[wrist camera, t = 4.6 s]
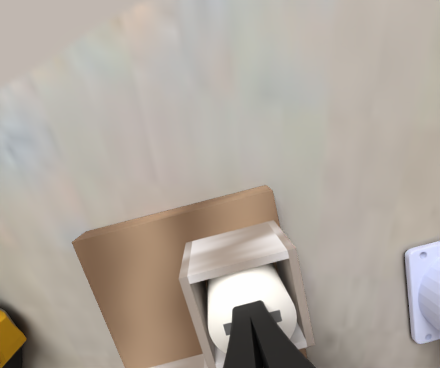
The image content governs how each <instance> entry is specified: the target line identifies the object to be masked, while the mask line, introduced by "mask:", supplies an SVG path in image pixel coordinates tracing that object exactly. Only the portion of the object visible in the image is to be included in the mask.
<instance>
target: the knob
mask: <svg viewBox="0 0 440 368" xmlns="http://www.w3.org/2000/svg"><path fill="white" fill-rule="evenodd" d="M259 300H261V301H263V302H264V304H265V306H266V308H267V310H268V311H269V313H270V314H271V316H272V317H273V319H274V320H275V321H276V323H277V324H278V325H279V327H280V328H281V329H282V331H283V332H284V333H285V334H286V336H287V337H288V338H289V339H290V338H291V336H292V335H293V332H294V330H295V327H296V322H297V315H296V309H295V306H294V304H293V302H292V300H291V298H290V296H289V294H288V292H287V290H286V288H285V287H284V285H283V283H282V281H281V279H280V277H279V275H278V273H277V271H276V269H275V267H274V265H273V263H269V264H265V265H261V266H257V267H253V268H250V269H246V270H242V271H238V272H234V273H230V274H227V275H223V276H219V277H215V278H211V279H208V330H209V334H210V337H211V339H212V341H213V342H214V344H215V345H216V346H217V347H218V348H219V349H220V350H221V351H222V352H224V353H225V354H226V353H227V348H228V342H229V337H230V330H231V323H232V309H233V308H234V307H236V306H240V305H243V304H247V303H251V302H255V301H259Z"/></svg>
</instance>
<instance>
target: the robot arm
mask: <svg viewBox="0 0 440 368" xmlns="http://www.w3.org/2000/svg"><path fill="white" fill-rule="evenodd" d="M405 264H406V276H407V288H408V300H409V312H410V323H411V335H412V339H413V340H414V341H415V342H416V343H418V344H423V343H427V342H431V341H434V340H438V339H440V241H437V242H433V243H430V244H426V245H422V246H418V247H414V248H411V249H409V250H407V251H406V253H405ZM263 367H264V368H316V367H315V366H314V365H313V364H312V363H311V362H310V361H309V360H308V359H307V358H306V357H305V356H304V355H303V354H302V353H301V352H300V351H299V349H298V348H297V347H296V346H295V345H294V344H293V343H292V342H291V340H290V339H289V338H288V337H287V336H286V334H285V333H284V332H283V331H282V329H281V328H280V327H279V325H278V324H277V323H276V321H275V320H274V319H273V317H272V316H271V314H270V313H269V311H268V310H267V308H266V306H265V304H264V302H263V301H261V300H259V301H255V302H251V303H247V304H243V305H240V306H236V307H234V308H233V309H232V323H231V330H230V337H229V342H228V348H227V353H226V357H225V361H224V365H223V368H263Z"/></svg>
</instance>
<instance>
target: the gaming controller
mask: <svg viewBox="0 0 440 368" xmlns="http://www.w3.org/2000/svg"><path fill="white" fill-rule="evenodd" d="M26 340H27V339H26V337H25V336H24V334H23V333H22V332H21V331H20V330H19V329H18V328H17V327H16V325H15V324H14V322H13V321H12V319H11V318H10V317H9V315H8V314H7V313H6V311H5V310H3V309H1V308H0V368H22V345H23V343H24V342H25V341H26Z"/></svg>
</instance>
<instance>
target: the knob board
mask: <svg viewBox="0 0 440 368" xmlns="http://www.w3.org/2000/svg"><path fill="white" fill-rule="evenodd" d="M72 244H73V246H74V249H75V251H76V254H77V256H78V258H79V261H80V263H81V265H82V268H83V270H84V272H85V275H86V277H87V279H88V282H89V284H90V286H91V289H92V291H93V294H94V296H95V298H96V301H97V303H98V305H99V308H100V310H101V312H102V315H103V317H104V319H105V322H106V324H107V326H108V329H109V331H110V334H111V336H112V338H113V341H114V343H115V345H116V348H117V350H118V352H119V355H120V357H121V359H122V362H123V364H124V366H125V368H223V365H224V361H225V357H226V354H225V353H224V352H222V351H221V350H220V349H219V348H218V347H217V346H216V345H215V344H214V342H213V341H212V339H211V337H210V334H209V330H208V279H211V278H215V277H219V276H223V275H227V274H230V273H234V272H238V271H242V270H246V269H250V268H253V267H257V266H261V265H265V264H269V263H273V265H274V267H275V269H276V271H277V273H278V275H279V277H280V279H281V281H282V283H283V285H284V287H285V288H286V290H287V292H288V294H289V296H290V298H291V300H292V302H293V304H294V306H295V309H296V315H297V322H296V327H295V330H294V332H293V335H292V336H291V338H290V340H291V342H292V343H293V344H294V345H295V346H296V347H297V348H298V349H299V351H300V352H301V353H302V354H303V355H304V356H305V357H306V358H307V354H306V349H305V348H306V347H310V346H314V345H315V342H314V337H313V332H312V326H311V321H310V316H309V311H308V306H307V301H306V296H305V291H304V286H303V280H302V275H301V270H300V265H299V260H298V255H297V250H296V247H295V246H294V245H293V244H292V242H291V241H290V240H289V239H288V237H287V236H286V235H285V234H284V232H283V231H282V230H281V229H280V224H279V219H278V215H277V210H276V205H275V200H274V195H273V190H271V189H270V188H269V187H268V186H266V185H264V186H261V187H257V188H253V189H249V190H245V191H241V192H237V193H234V194H230V195H226V196H222V197H218V198H214V199H210V200H206V201H203V202H199V203H195V204H191V205H187V206H183V207H179V208H175V209H172V210H168V211H164V212H160V213H156V214H152V215H148V216H145V217H141V218H137V219H133V220H129V221H125V222H121V223H117V224H114V225H110V226H106V227H102V228H98V229H94V230H90V231H87V232H85V233H83V234H82V235H81V236H79V237H78V238H77V239H75V240H74V241H73V242H72ZM263 368H264V367H263Z"/></svg>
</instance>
